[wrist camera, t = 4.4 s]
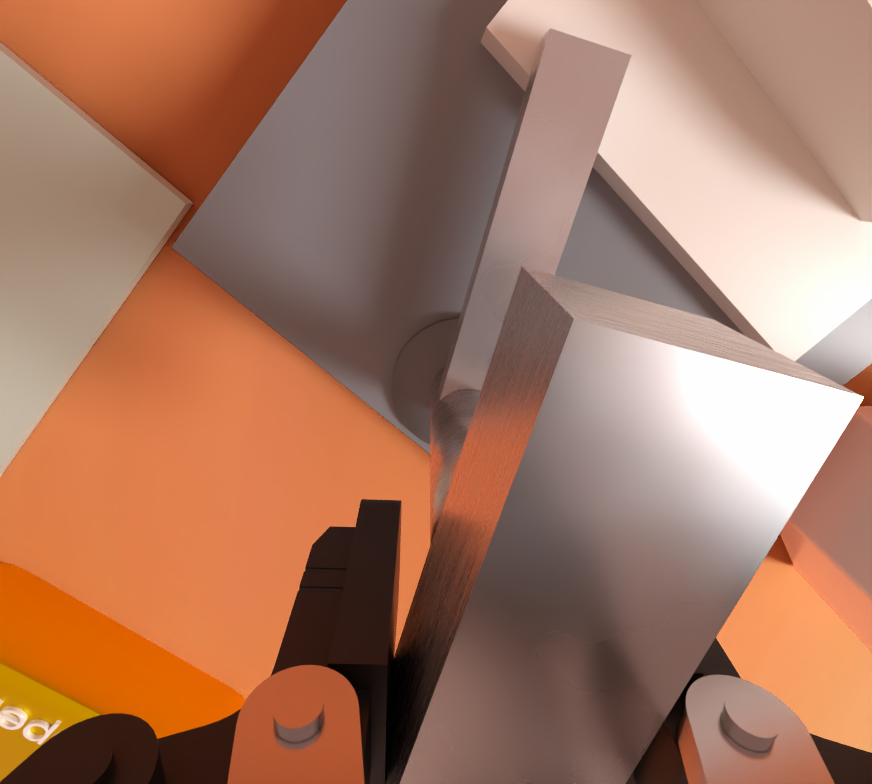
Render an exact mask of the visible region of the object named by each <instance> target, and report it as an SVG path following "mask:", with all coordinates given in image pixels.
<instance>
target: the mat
mask: <svg viewBox="0 0 872 784" xmlns="http://www.w3.org/2000/svg"><path fill="white" fill-rule="evenodd" d="M192 205H193V202H192V201H191V200H189V199H188V198H187V197H186V196H185V195H183V194H182V193H181V192H180V191H179V190H177V189H176V188H175V187H174V186H173V185H171V184H170V183H169V182H168V181H167V180H165V179H164V178H163V177H162V176H161V175H159V174H158V173H157V172H156V171H155V170H153V169H152V168H151V167H150V166H149V165H147V164H146V163H145V162H144V161H143V160H141V159H140V158H139V157H138V156H137V155H135V154H134V153H133V152H132V151H131V150H129V149H128V148H127V147H126V146H125V145H123V144H122V143H121V142H120V141H119V140H117V139H116V138H115V137H114V136H113V135H111V134H110V133H109V132H108V131H107V130H105V129H104V128H103V127H102V126H101V125H99V124H98V123H97V122H96V121H95V120H93V119H92V118H91V117H90V116H89V115H87V114H86V113H85V112H84V111H83V110H81V109H80V108H79V107H78V106H77V105H75V104H74V103H73V102H72V101H71V100H69V99H68V98H67V97H66V96H65V95H63V94H62V93H61V92H60V91H59V90H57V89H56V88H55V87H54V86H53V85H52V84H50V83H49V82H48V81H47V80H46V79H44V78H43V77H42V76H41V75H40V74H38V73H37V72H36V71H35V70H34V69H32V68H31V67H30V66H29V65H28V64H26V63H25V62H24V61H23V60H22V59H20V58H19V57H18V56H17V55H16V54H14V53H13V52H12V51H11V50H10V49H8V48H7V47H6V46H5V45H4V44H2V43H1V42H0V477H1V475H2V474H3V472H4V471H5V470H6V468H7V467H8V465H9V464H10V462H11V461H12V460H13V458H14V457H15V455H16V454H17V453H18V451H19V450H20V448H21V447H22V445H23V444H24V443H25V441H26V440H27V438H28V437H29V436H30V434H31V433H32V431H33V430H34V428H35V427H36V426H37V424H38V423H39V421H40V420H41V419H42V417H43V416H44V414H45V413H46V412H47V410H48V409H49V407H50V406H51V404H52V403H53V402H54V400H55V399H56V397H57V396H58V395H59V393H60V392H61V390H62V389H63V387H64V386H65V385H66V383H67V382H68V380H69V379H70V378H71V376H72V375H73V373H74V372H75V370H76V369H77V368H78V366H79V365H80V363H81V362H82V361H83V359H84V358H85V356H86V355H87V353H88V352H89V351H90V349H91V348H92V346H93V345H94V344H95V342H96V341H97V339H98V338H99V336H100V335H101V334H102V332H103V331H104V329H105V328H106V327H107V325H108V324H109V322H110V321H111V320H112V318H113V317H114V315H115V314H116V312H117V311H118V310H119V308H120V307H121V305H122V304H123V303H124V301H125V300H126V298H127V297H128V295H129V294H130V293H131V291H132V290H133V288H134V287H135V286H136V284H137V283H138V281H139V280H140V278H141V277H142V276H143V274H144V273H145V271H146V270H147V269H148V267H149V266H150V264H151V263H152V261H153V260H154V259H155V257H156V256H157V254H158V253H159V252H160V250H161V249H162V247H163V246H164V244H165V243H166V242H167V240H168V239H169V237H170V236H171V235H172V233H173V232H174V230H175V229H176V228H177V226H178V225H179V223H180V222H181V220H182V219H183V218H184V216H185V215H186V213H187V212H188V211H189V209H190V208H191V206H192Z"/></svg>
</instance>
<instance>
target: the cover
mask: <svg viewBox="0 0 872 784" xmlns="http://www.w3.org/2000/svg"><path fill="white" fill-rule="evenodd" d="M550 28H551V29H554V30H557V31H560V32H563V33H566V34H569V35H572V36H575V37H578V38H581V39H584V40H587V41H591V42H594V43H597V44H600V45H603V46H606V47H609V48H612V49H615V50H618V51H621V52H624V53H627V54H630V55H632V56H631V58H630V61H629V64H628V67H627V70H626V73H625V75H624V78H623V81H622V84H621V87H620V90H619V93H618V95H617V98H616V101H615V104H614V107H613V110H612V113H611V115H610V118H609V121H608V124H607V127H606V130H605V133H604V135H603V138H602V141H601V144H600V147H599V150H598V153H597V155H596V158H595V161H594V164H593V168H594V169H595V170H596V171H597V172H598V173H599V174H600V175H601V176H602V178H603V179H604V180H605V181H606V182H607V183H608V184H609V185H610V186H611V188H612V189H613V190H614V191H615V192H616V193H617V194H618V195H619V196H620V198H621V199H622V200H623V201H624V202H625V203H626V204H627V205H628V206H629V207H630V209H631V210H632V211H633V212H634V213H635V214H636V215H637V216H638V217H639V219H640V220H641V221H642V222H643V223H644V224H645V225H646V226H647V227H648V229H649V230H650V231H651V232H652V233H653V234H654V235H655V236H656V237H657V239H658V240H659V241H660V242H661V243H662V244H663V245H664V246H665V247H666V248H667V250H668V251H669V252H670V253H671V254H672V255H673V256H674V257H675V258H676V260H677V261H678V262H679V263H680V264H681V265H682V266H683V267H684V268H685V270H686V271H687V272H688V273H689V274H690V275H691V276H692V277H693V278H694V280H695V281H696V282H697V283H698V284H699V285H700V286H701V287H702V288H703V289H704V291H705V292H706V293H707V294H708V295H709V296H710V297H711V298H712V299H713V301H714V302H715V303H716V304H717V305H718V306H719V307H720V308H721V309H722V311H723V312H724V313H725V314H726V315H727V316H728V317H729V318H730V319H731V321H732V322H733V323H734V324H735V325H736V326H737V327H738V328H739V329H740V330H741V332H742V333H743V334H744V335H745V336H746V337H748V338H750V339H752V340H754V341H756V342H758V343H760V344H762V345H764V346H766V347H768V348H770V349H772V350H774V351H776V352H777V353H779V354H781V355H783V356H785V357H787V358H789V359H791V360H793V361H796V360H797V359H798V358H800V357H801V356H802V355H803V354H805V353H806V352H807V351H808V350H809V349H811V348H812V347H813V346H814V345H816V344H817V343H818V342H819V341H820V340H822V339H823V338H824V337H825V336H827V335H828V334H829V333H830V332H831V331H833V330H834V329H835V328H836V327H837V326H839V325H840V324H841V323H842V322H844V321H845V320H846V319H847V318H848V317H850V316H851V315H852V314H853V313H855V312H856V311H857V310H858V309H859V308H861V307H862V306H863V305H864V304H866V303H867V302H868V301H869V300H870V299H872V0H508V1H507V2H506V3H505V5H504V6H503V7H502V8H501V10H500V11H499V12H498V13H497V14H496V16H495V17H494V18H493V19H492V21H491V22H490V23H489V24H488V26H487V27H486V29H485V32H484V34H483V37H482V40H481V44H482V45H483V46H484V47H485V48H486V49H487V50H488V51H489V52H490V53H491V55H492V56H493V57H494V58H495V59H496V60H497V61H498V62H499V63H500V65H501V66H502V67H503V68H504V69H505V70H506V71H507V72H508V73H509V75H510V76H511V77H512V78H513V79H514V80H515V81H516V82H517V83H518V84H519V86H520V87H521V88H522V89H523V90H524V91H526V88H527V84H528V81H529V77H530V74H531V71H532V67H533V64H534V60H535V57H536V54H537V50H538V47H539V43H540V40H541V38H542V37H543V36H544V35H545V34H546V32H547V31H548V30H549V29H550Z"/></svg>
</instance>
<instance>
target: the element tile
mask: <svg viewBox="0 0 872 784" xmlns="http://www.w3.org/2000/svg"><path fill="white" fill-rule="evenodd" d="M245 701H246V700H245V699H244V698H243V696H242V695H240V694H239V693H238V692H236V691H235V690H234V689H232V688H231V687H229V686H227V685H225V684H224V683H222V682H220V681H218V680H217V679H215V678H213V677H211V676H210V675H208V674H206V673H204V672H203V671H201V670H199V669H197V668H196V667H194V666H192V665H190V664H189V663H187V662H185V661H183V660H182V659H180V658H178V657H177V656H175V655H173V654H171V653H170V652H168V651H166V650H164V649H163V648H161V647H159V646H157V645H156V644H154V643H152V642H150V641H149V640H147V639H145V638H143V637H142V636H140V635H138V634H136V633H135V632H133V631H131V630H129V629H128V628H126V627H124V626H122V625H121V624H119V623H117V622H115V621H114V620H112V619H110V618H108V617H107V616H105V615H103V614H101V613H100V612H98V611H96V610H94V609H93V608H91V607H89V606H87V605H86V604H84V603H82V602H81V601H79V600H77V599H75V598H74V597H72V596H70V595H68V594H67V593H65V592H63V591H61V590H60V589H58V588H56V587H54V586H53V585H51V584H49V583H47V582H46V581H44V580H42V579H40V578H39V577H37V576H35V575H33V574H32V573H30V572H28V571H26V570H24V569H21V568H19V567H17V566H14V565H11V564H7V563H3V562H0V781H2V780H3V779H4V778H5V777H6V776H7V775H8V774H9V773H11V772H12V771H13V770H14V769H15V768H16V767H17V766H19V765H20V764H21V763H22V762H23V761H24V760H25V759H27V758H28V757H29V756H30V755H31V754H32V753H33V752H34V751H36V750H37V749H38V748H39V747H40V746H42V745H43V744H44V743H45V742H47V741H48V740H49V739H50V738H52V737H53V736H55V735H57V734H58V733H60V732H61V731H63V730H64V729H66V728H68V727H70V726H72V725H74V724H76V723H79V722H81V721H83V720H86V719H89V718H92V717H96V716H99V715H105V714H111V713H124V714H130V715H134V716H137V717H139V718H141V719H143V720H144V721H146V722H147V723H148V724H149V725H150V726H151V727H152V728H153V730H154V732H155V734H156V736H157V739H159V738H162V737H166V736H169V735H173V734H176V733H180V732H183V731H187V730H190V729H194V728H198V727H201V726H205V725H208V724H211V723H214V722H217V721H219V720H221V719H223V718H226V717H228V716H230V715H231V714H233V713H235V712H236V711H238V710H240V709H241V708H242V706H243V704H244V702H245Z"/></svg>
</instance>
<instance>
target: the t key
mask: <svg viewBox="0 0 872 784" xmlns="http://www.w3.org/2000/svg"><path fill="white" fill-rule="evenodd" d="M631 56H632V55H630V54H627V53H624V52H621V51H618V50H615V49H612V48H609V47H606V46H603V45H600V44H597V43H594V42H591V41H587V40H584V39H581V38H578V37H575V36H572V35H569V34H566V33H563V32H560V31H557V30H554V29H551V28H550V29H549V30H548V31H547V32H546V34H545V35H544V36H543V37H542V38H541V40H540V43H539V47H538V50H537V54H536V57H535V60H534V64H533V67H532V71H531V74H530V77H529V81H528V84H527V88H526V91H525V94H524V98H523V101H522V105H521V108H520V112H519V115H518V118H517V122H516V125H515V129H514V132H513V135H512V139H511V142H510V146H509V149H508V153H507V156H506V159H505V163H504V166H503V170H502V173H501V176H500V180H499V183H498V187H497V190H496V193H495V197H494V200H493V204H492V207H491V211H490V214H489V217H488V221H487V224H486V228H485V231H484V234H483V238H482V241H481V245H480V248H479V251H478V255H477V258H476V262H475V265H474V269H473V272H472V275H471V279H470V282H469V286H468V289H467V292H466V296H465V299H464V303H463V306H462V310H461V313H460V316H459V320H458V323H457V327H456V330H455V333H454V337H453V340H452V344H451V347H450V350H449V354H448V357H447V361H446V364H445V367H444V368H442V369H441V370H440V371H439V372H438V373H437V374H436V376H435V377H434V379H433V381H432V384H431V388H430V540H431V546H430V549H429V552H428V555H427V558H426V561H425V564H424V567H423V570H422V573H421V576H420V580H419V583H418V586H417V589H416V592H415V595H414V598H413V601H412V604H411V607H410V610H409V613H408V616H407V619H406V623H405V626H404V629H403V632H402V635H401V638H400V641H399V644H398V647H397V650H396V653H395V656H394V663H393V677H392V691H391V705H390V720H389V734H388V748H387V762H386V776H385V784H626V782H627V780H628V779H629V777H630V776H631V774H632V772H633V771H634V769H635V767H636V766H637V764H638V763H639V761H640V759H641V758H642V756H643V754H644V753H645V751H646V750H647V748H648V746H649V745H650V743H651V741H652V740H653V738H654V737H655V735H656V733H657V732H658V730H659V729H660V727H661V725H662V724H663V722H664V720H665V719H666V717H667V716H668V714H669V712H670V711H671V709H672V707H673V706H674V704H675V703H676V701H677V699H678V698H679V696H680V694H681V693H682V691H683V690H684V688H685V686H686V685H687V683H688V682H689V680H690V678H691V677H692V675H693V673H694V672H695V670H696V669H697V667H698V665H699V664H700V662H701V660H702V659H703V657H704V656H705V654H706V652H707V651H708V649H709V647H710V646H711V644H712V643H713V641H714V639H715V638H716V636H717V635H718V633H719V631H720V630H721V628H722V626H723V625H724V623H725V622H726V620H727V618H728V617H729V615H730V613H731V612H732V610H733V609H734V607H735V605H736V604H737V602H738V600H739V599H740V597H741V596H742V594H743V592H744V591H745V589H746V588H747V586H748V584H749V583H750V581H751V579H752V578H753V576H754V575H755V573H756V571H757V570H758V568H759V566H760V565H761V563H762V562H763V560H764V558H765V557H766V555H767V553H768V552H769V550H770V549H771V547H772V545H773V544H774V542H775V540H776V539H777V537H778V536H779V534H780V532H781V531H782V529H783V528H784V526H785V524H786V523H787V521H788V519H789V518H790V516H791V515H792V513H793V511H794V510H795V508H796V506H797V505H798V503H799V502H800V500H801V498H802V497H803V495H804V493H805V492H806V490H807V489H808V487H809V485H810V484H811V482H812V481H813V479H814V477H815V476H816V474H817V472H818V471H819V469H820V468H821V466H822V464H823V463H824V461H825V459H826V458H827V456H828V455H829V453H830V451H831V450H832V448H833V446H834V445H835V443H836V442H837V440H838V438H839V437H840V435H841V434H842V432H843V430H844V429H845V427H846V425H847V424H848V422H849V421H850V419H851V417H852V416H853V414H854V412H855V411H856V409H857V408H858V406H859V404H860V403H861V401H862V399H863V398H864V397H863V396H861V395H859V394H857V393H855V392H853V391H851V390H850V389H848V388H846V387H844V386H842V385H840V384H838V383H836V382H834V381H832V380H830V379H828V378H826V377H824V376H822V375H820V374H818V373H816V372H814V371H813V370H811V369H809V368H807V367H805V366H803V365H801V364H799V363H797V362H795V361H793V360H791V359H789V358H787V357H785V356H783V355H781V354H779V353H777V352H776V351H774V350H772V349H770V348H768V347H766V346H764V345H762V344H760V343H758V342H756V341H754V340H752V339H750V338H748V337H746V336H744V335H742V334H741V333H739V332H737V331H735V330H733V329H731V328H729V327H727V326H725V325H723V324H721V323H719V322H717V321H715V320H713V319H710V318H707V317H703V316H699V315H696V314H692V313H689V312H685V311H681V310H678V309H674V308H671V307H667V306H663V305H660V304H656V303H653V302H649V301H645V300H642V299H638V298H635V297H631V296H627V295H624V294H620V293H617V292H613V291H609V290H606V289H602V288H599V287H595V286H591V285H588V284H584V283H581V282H577V281H573V280H570V279H566V278H563V277H559V276H555V272H556V270H557V267H558V264H559V261H560V258H561V255H562V252H563V250H564V247H565V244H566V241H567V238H568V235H569V232H570V230H571V227H572V224H573V221H574V218H575V215H576V212H577V210H578V207H579V204H580V201H581V198H582V195H583V192H584V190H585V187H586V184H587V181H588V178H589V175H590V172H591V170H592V167H593V164H594V161H595V158H596V155H597V153H598V150H599V147H600V144H601V141H602V138H603V135H604V133H605V130H606V127H607V124H608V121H609V118H610V115H611V113H612V110H613V107H614V104H615V101H616V98H617V95H618V93H619V90H620V87H621V84H622V81H623V78H624V75H625V73H626V70H627V67H628V64H629V61H630V58H631Z"/></svg>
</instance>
